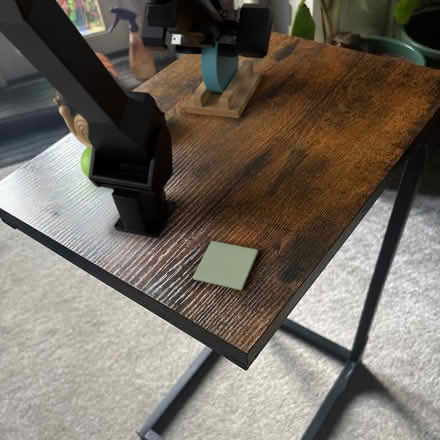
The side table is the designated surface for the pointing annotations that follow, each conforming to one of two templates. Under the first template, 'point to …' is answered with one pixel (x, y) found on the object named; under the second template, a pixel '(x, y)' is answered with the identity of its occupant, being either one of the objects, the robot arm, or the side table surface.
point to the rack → (227, 94)
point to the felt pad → (226, 265)
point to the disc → (217, 69)
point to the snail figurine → (78, 133)
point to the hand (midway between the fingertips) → (223, 50)
